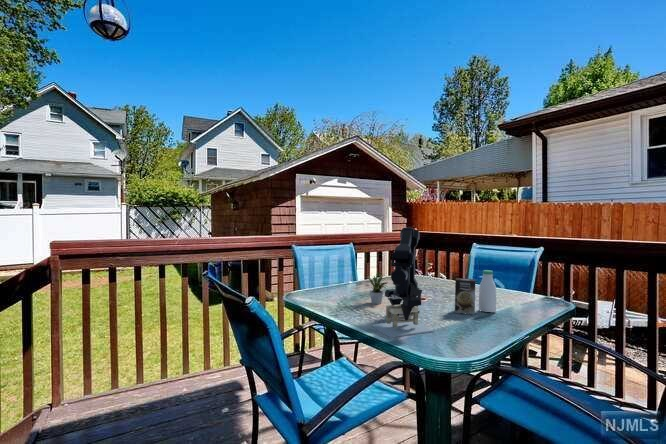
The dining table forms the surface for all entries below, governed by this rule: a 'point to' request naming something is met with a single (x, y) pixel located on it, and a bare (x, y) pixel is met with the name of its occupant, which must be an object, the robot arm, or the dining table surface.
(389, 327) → the mat
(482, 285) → the milk bottle
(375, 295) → the house plant
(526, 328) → the dining table surface
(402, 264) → the robot arm
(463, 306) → the coffee box
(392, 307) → the stool
